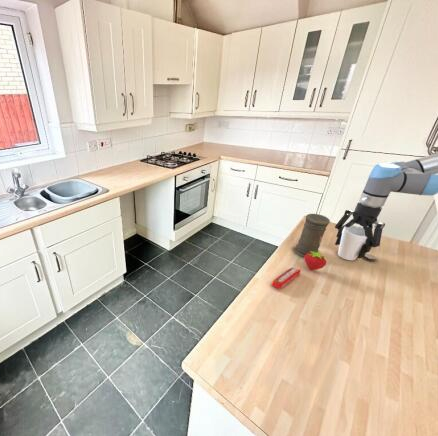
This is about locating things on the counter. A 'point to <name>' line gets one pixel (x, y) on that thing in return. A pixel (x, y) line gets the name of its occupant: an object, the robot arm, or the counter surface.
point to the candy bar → (285, 278)
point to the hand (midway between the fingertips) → (348, 250)
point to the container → (312, 234)
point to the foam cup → (351, 242)
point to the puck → (369, 257)
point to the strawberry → (314, 261)
